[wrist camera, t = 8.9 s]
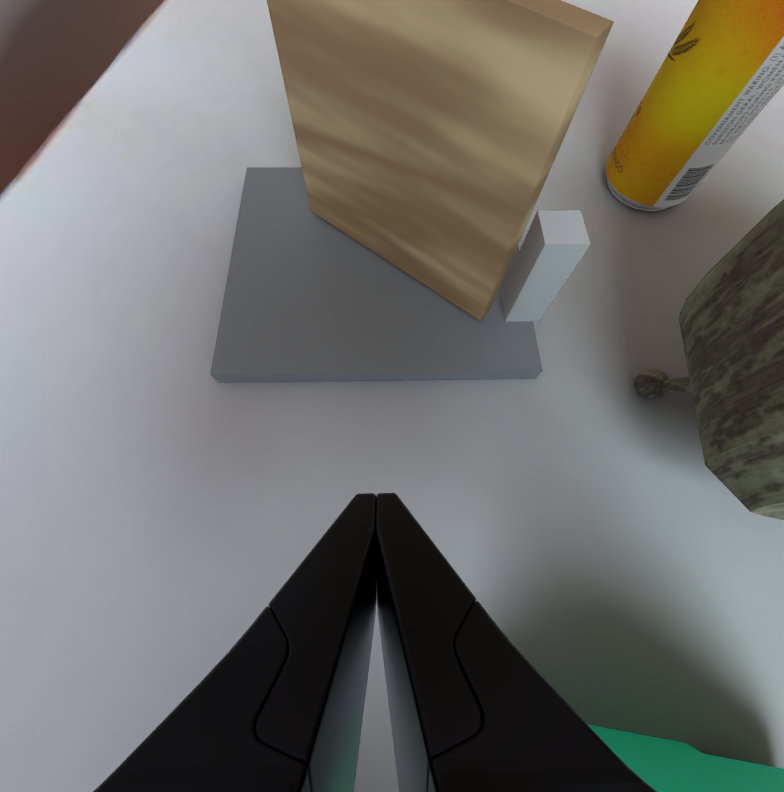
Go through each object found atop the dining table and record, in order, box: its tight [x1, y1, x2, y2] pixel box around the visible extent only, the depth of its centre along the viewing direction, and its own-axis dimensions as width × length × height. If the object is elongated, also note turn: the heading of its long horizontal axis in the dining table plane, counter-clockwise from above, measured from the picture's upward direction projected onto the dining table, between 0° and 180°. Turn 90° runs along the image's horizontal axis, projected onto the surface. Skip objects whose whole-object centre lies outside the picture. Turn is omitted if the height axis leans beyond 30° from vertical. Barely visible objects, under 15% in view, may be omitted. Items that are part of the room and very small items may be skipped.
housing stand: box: [211, 168, 590, 382], centre depth 22 cm, size 16×18×7 cm
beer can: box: [606, 0, 784, 211], centre depth 21 cm, size 6×6×15 cm
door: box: [267, 0, 614, 321], centre depth 18 cm, size 1×13×13 cm, turn 51°
